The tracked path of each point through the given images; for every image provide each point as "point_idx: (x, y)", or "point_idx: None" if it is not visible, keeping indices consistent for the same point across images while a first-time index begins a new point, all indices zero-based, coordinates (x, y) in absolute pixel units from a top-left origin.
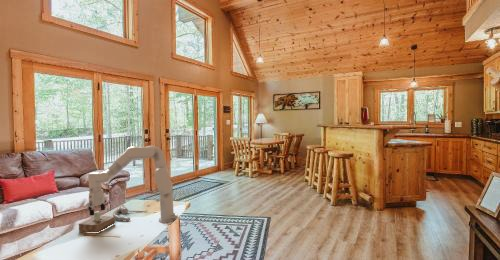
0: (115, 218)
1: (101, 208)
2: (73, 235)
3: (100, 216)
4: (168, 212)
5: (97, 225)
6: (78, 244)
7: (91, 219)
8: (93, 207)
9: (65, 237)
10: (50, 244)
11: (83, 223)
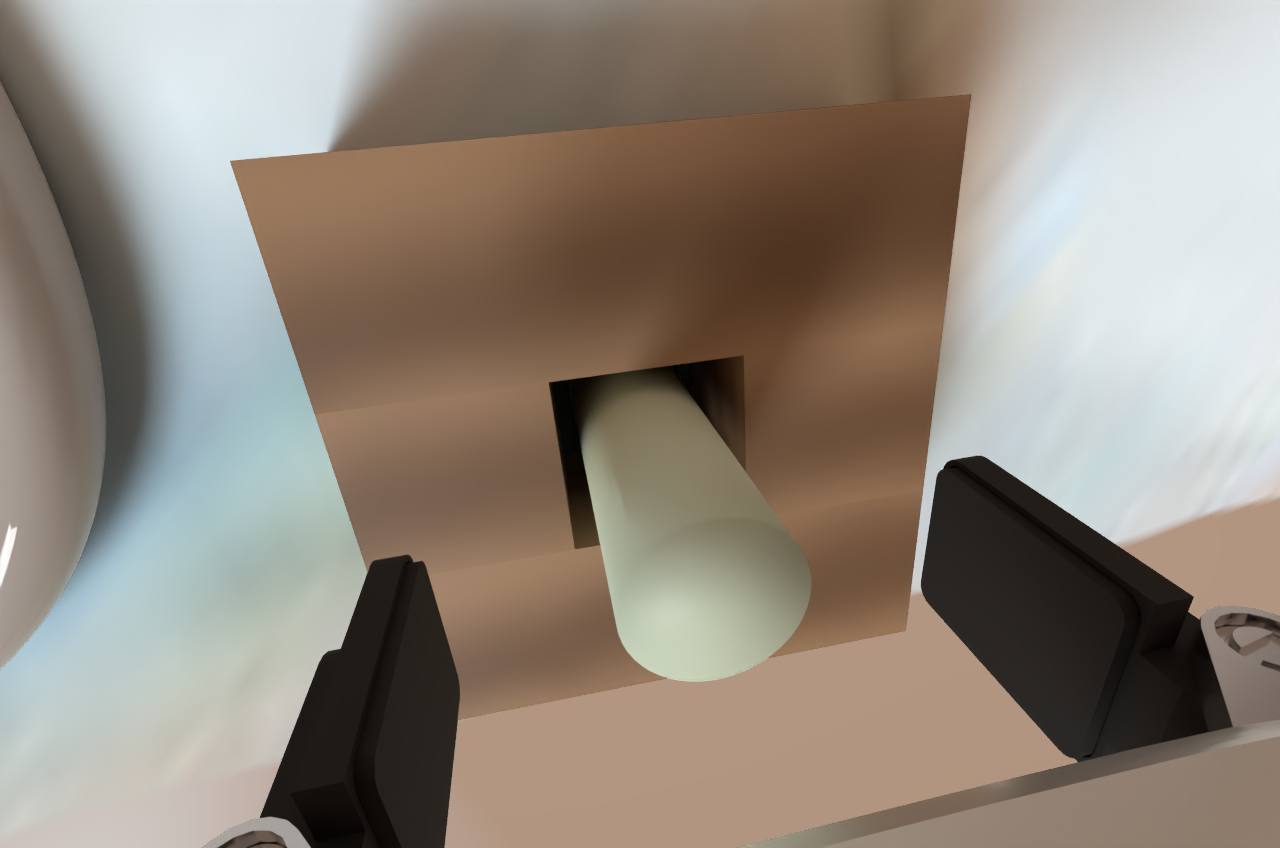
0: (105, 421)
1: (445, 719)
2: None
3: None
4: None
5: (952, 96)
6: (1261, 60)
7: None
8: (1244, 718)
9: None
10: (1191, 505)
11: (878, 564)
